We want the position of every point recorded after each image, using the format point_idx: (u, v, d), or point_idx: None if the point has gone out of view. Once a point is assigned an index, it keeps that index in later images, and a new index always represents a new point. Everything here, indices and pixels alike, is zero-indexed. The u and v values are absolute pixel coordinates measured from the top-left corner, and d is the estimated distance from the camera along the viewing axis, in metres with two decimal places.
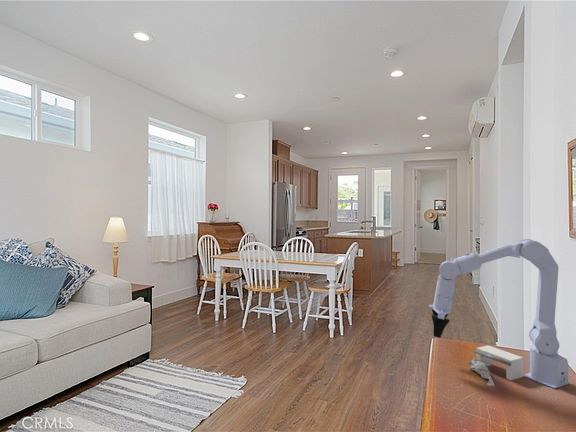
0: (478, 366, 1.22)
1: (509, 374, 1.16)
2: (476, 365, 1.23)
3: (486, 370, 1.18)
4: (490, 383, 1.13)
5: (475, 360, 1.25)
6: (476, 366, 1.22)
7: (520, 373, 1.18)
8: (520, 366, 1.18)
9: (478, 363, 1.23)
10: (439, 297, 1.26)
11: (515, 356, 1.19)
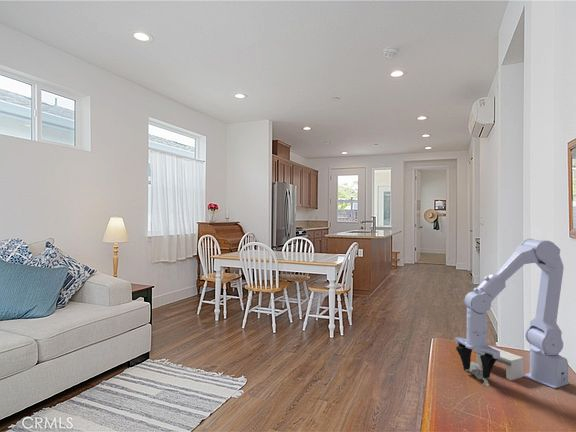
0: (472, 367, 1.22)
1: (509, 374, 1.16)
2: (470, 366, 1.22)
3: (481, 371, 1.18)
4: (485, 384, 1.13)
5: None
6: (470, 367, 1.22)
7: (520, 373, 1.18)
8: (520, 366, 1.18)
9: (472, 364, 1.23)
10: (480, 334, 1.15)
11: (515, 356, 1.19)
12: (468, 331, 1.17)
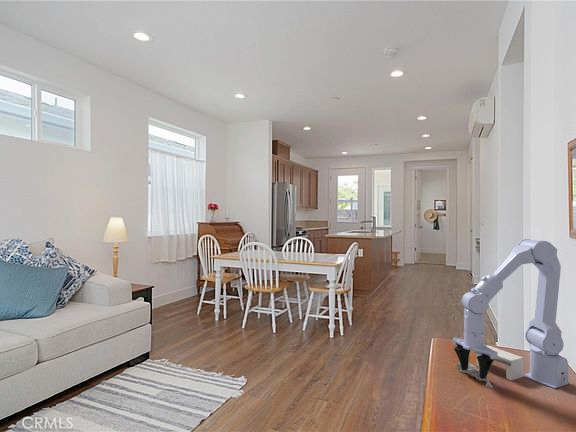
0: (468, 368, 1.21)
1: (509, 374, 1.16)
2: None
3: (479, 372, 1.18)
4: (488, 385, 1.12)
5: None
6: None
7: (520, 373, 1.18)
8: (520, 366, 1.18)
9: (468, 365, 1.22)
10: (478, 335, 1.14)
11: (515, 356, 1.19)
12: (465, 332, 1.17)
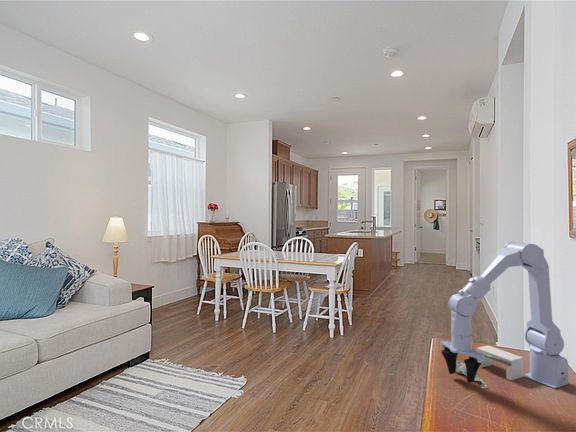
0: (464, 368, 1.20)
1: (509, 374, 1.16)
2: (462, 367, 1.21)
3: None
4: (483, 386, 1.11)
5: None
6: (462, 368, 1.20)
7: (520, 373, 1.18)
8: (520, 366, 1.18)
9: (463, 365, 1.21)
10: (465, 338, 1.12)
11: (515, 356, 1.19)
12: (453, 334, 1.14)
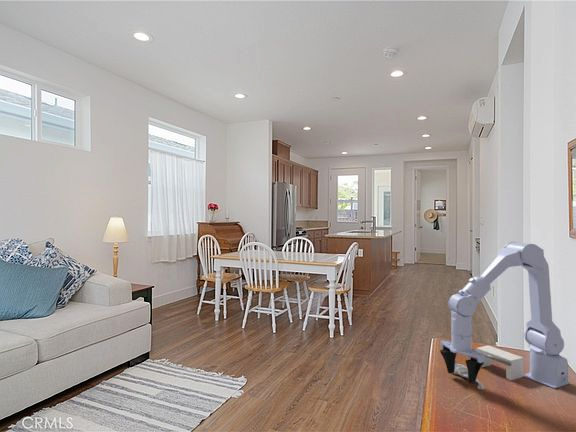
0: (460, 369, 1.20)
1: (509, 374, 1.16)
2: (458, 368, 1.20)
3: None
4: (480, 386, 1.11)
5: None
6: (458, 369, 1.20)
7: (520, 373, 1.18)
8: (520, 366, 1.18)
9: (459, 366, 1.21)
10: (465, 338, 1.12)
11: (515, 356, 1.19)
12: (453, 334, 1.14)
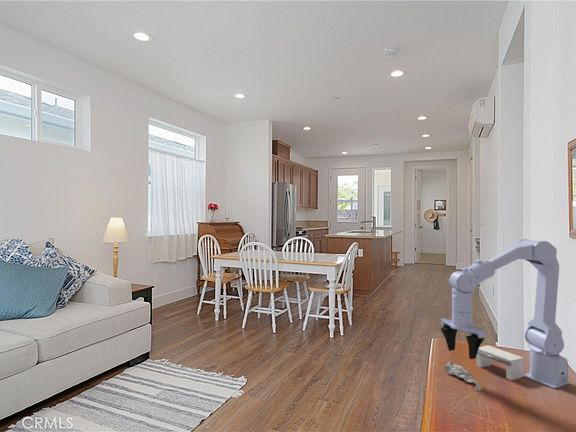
0: (456, 370, 1.19)
1: (509, 374, 1.16)
2: (454, 369, 1.20)
3: (467, 373, 1.16)
4: (477, 387, 1.10)
5: (451, 363, 1.23)
6: (455, 370, 1.19)
7: (520, 373, 1.18)
8: (520, 366, 1.18)
9: (455, 366, 1.20)
10: (465, 314, 1.12)
11: (515, 356, 1.19)
12: (453, 311, 1.15)
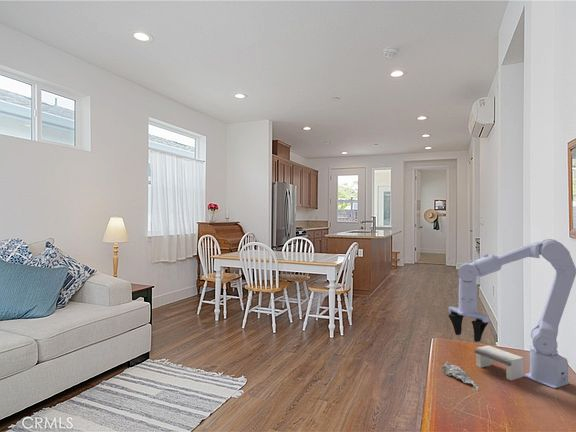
0: (454, 370, 1.19)
1: (509, 374, 1.16)
2: (452, 369, 1.19)
3: (465, 374, 1.16)
4: (475, 388, 1.10)
5: (448, 364, 1.22)
6: (452, 371, 1.19)
7: (520, 373, 1.18)
8: (520, 366, 1.18)
9: (453, 367, 1.20)
10: (471, 301, 1.25)
11: (515, 356, 1.19)
12: (460, 299, 1.27)
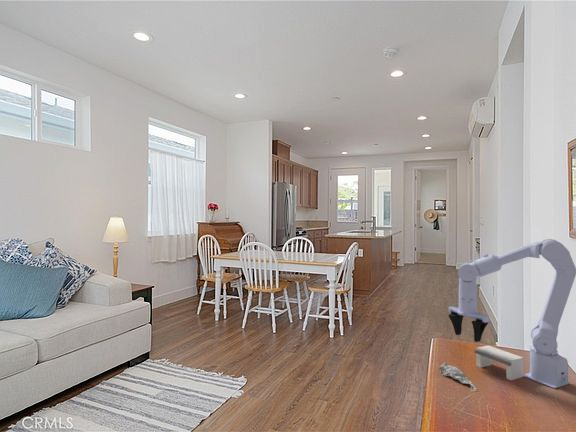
0: (451, 371, 1.18)
1: (509, 374, 1.16)
2: (449, 370, 1.19)
3: (462, 374, 1.15)
4: (473, 388, 1.09)
5: (445, 364, 1.22)
6: (450, 371, 1.18)
7: (520, 373, 1.18)
8: (520, 366, 1.18)
9: (450, 368, 1.19)
10: (471, 301, 1.25)
11: (515, 356, 1.19)
12: (460, 299, 1.27)
